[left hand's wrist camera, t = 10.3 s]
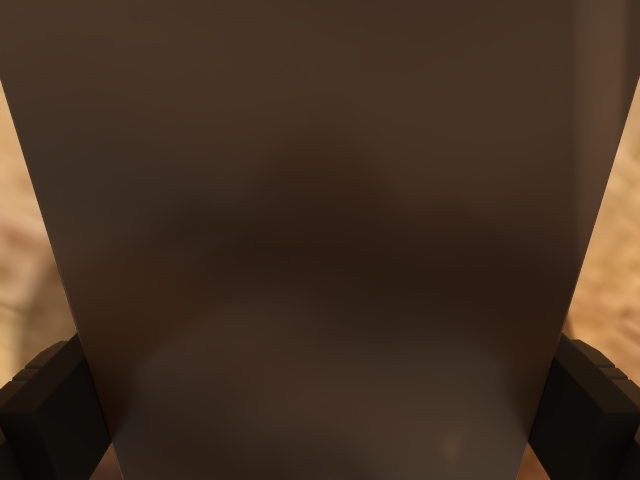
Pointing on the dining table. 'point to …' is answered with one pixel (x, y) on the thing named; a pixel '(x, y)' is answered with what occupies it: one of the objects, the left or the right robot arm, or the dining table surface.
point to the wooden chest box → (319, 219)
